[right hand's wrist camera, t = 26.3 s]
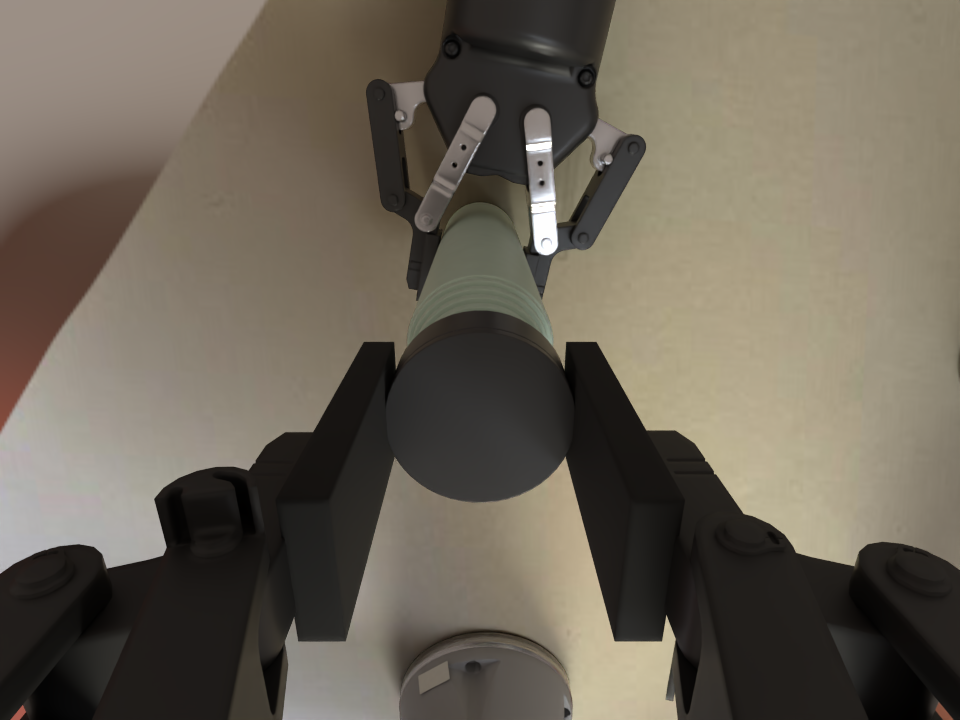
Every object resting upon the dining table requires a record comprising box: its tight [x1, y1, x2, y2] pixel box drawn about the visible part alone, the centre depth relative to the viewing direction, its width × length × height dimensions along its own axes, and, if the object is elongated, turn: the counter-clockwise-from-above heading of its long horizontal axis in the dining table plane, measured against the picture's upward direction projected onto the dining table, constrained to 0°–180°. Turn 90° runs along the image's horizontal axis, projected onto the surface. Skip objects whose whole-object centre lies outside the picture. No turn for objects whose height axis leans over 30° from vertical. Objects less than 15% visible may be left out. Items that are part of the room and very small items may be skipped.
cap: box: [385, 310, 575, 503], centre depth 14 cm, size 4×4×2 cm
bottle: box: [407, 202, 553, 347], centre depth 25 cm, size 5×5×24 cm
